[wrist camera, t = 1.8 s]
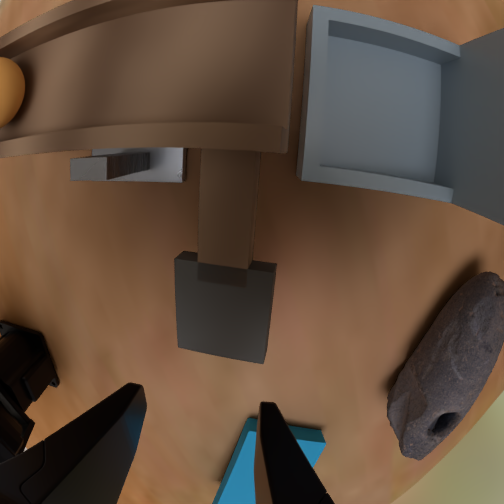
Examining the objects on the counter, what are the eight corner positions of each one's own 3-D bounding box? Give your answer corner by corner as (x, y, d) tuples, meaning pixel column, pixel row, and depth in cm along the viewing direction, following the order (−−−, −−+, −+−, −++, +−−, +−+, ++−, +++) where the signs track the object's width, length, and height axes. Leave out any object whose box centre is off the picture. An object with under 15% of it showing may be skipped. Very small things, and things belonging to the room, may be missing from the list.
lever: (18, 287, 17) (-20, 310, 13) (12, 54, 12) (-32, 49, 8) (266, 351, 14) (251, 408, 11) (298, -5, 9) (289, -56, 5)
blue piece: (247, 391, 29) (207, 496, 30) (248, 430, 22) (202, 535, 23) (311, 404, 29) (258, 505, 30) (326, 443, 22) (261, 544, 23)
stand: (97, 179, 18) (40, 195, 12) (112, 21, 14) (63, -10, 9) (185, 181, 18) (148, 197, 12) (199, 10, 14) (173, -37, 9)
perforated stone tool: (454, 248, 18) (513, 290, 12) (496, 269, 19) (549, 310, 12) (361, 405, 23) (379, 468, 17) (407, 410, 24) (429, 466, 17)
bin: (296, 175, 17) (317, 196, 10) (306, 25, 14) (329, -45, 7) (437, 195, 17) (517, 229, 10) (445, 59, 14) (523, 32, 7)
